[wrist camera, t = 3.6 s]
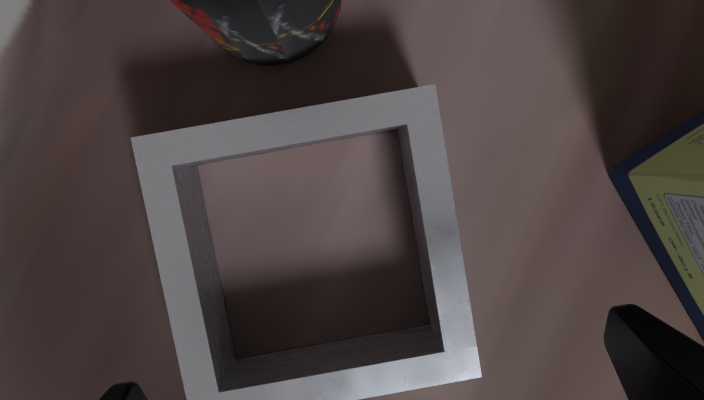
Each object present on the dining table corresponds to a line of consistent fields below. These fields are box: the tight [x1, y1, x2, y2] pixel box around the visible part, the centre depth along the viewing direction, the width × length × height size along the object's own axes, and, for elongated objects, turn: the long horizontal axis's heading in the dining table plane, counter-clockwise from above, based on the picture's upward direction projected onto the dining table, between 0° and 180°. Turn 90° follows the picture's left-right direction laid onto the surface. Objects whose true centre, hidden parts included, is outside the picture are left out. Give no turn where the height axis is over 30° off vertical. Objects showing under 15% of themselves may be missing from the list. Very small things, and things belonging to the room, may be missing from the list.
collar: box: [131, 84, 482, 400], centre depth 19 cm, size 11×11×3 cm
